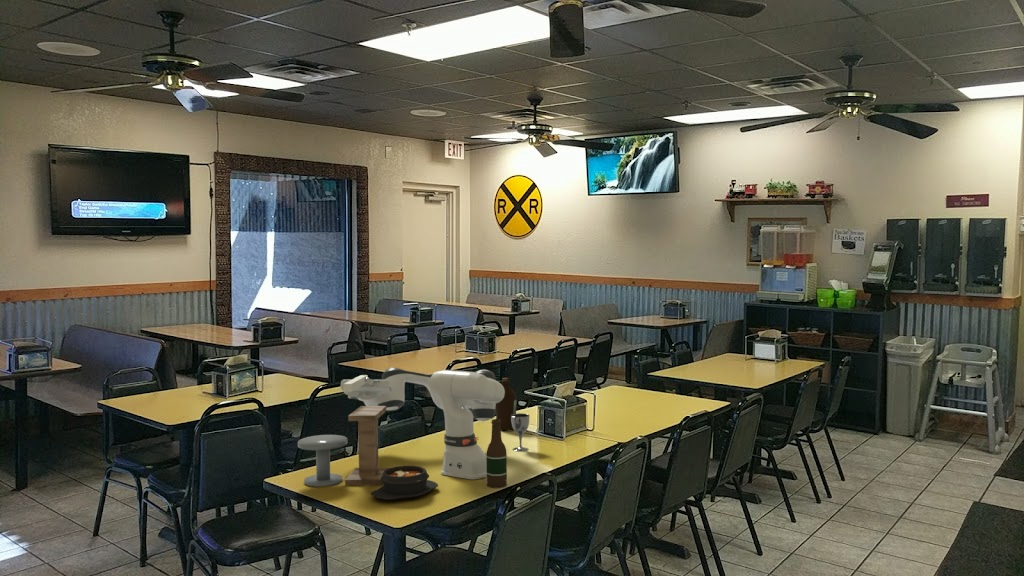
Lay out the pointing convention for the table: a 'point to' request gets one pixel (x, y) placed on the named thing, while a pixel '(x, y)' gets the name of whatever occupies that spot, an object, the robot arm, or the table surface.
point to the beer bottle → (496, 458)
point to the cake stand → (322, 458)
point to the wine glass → (520, 427)
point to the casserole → (404, 483)
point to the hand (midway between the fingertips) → (361, 379)
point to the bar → (355, 383)
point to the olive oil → (506, 406)
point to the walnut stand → (367, 446)
